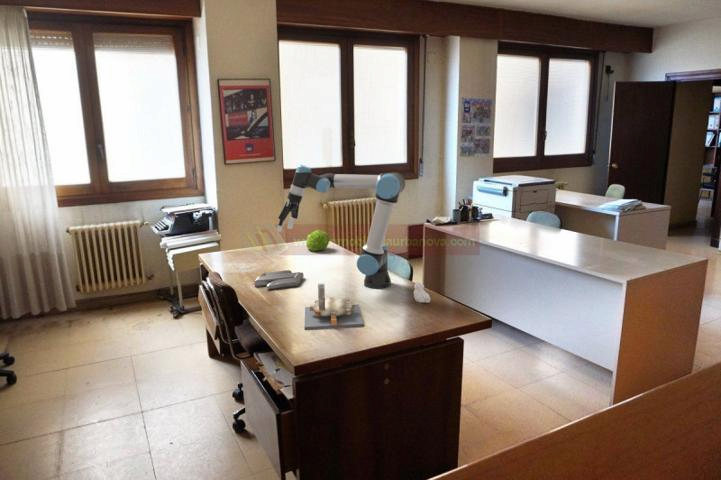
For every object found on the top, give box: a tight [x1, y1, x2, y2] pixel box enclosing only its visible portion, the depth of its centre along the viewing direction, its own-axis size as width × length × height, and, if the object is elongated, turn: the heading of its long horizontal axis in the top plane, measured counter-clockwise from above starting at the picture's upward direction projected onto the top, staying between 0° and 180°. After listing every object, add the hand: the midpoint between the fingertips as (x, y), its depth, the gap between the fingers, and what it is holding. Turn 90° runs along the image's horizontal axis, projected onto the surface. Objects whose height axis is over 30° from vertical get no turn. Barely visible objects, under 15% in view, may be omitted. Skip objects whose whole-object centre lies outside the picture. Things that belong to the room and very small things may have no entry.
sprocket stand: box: [303, 304, 364, 330], centre depth 232 cm, size 26×25×4 cm
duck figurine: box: [413, 281, 431, 304], centre depth 250 cm, size 12×8×11 cm
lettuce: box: [305, 229, 330, 252], centre depth 362 cm, size 15×25×16 cm
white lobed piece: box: [309, 282, 356, 318], centre depth 231 cm, size 21×21×14 cm
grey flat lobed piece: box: [254, 269, 305, 290], centre depth 286 cm, size 28×5×28 cm
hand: (284, 229), depth 272 cm, fingers open, 13 cm apart
